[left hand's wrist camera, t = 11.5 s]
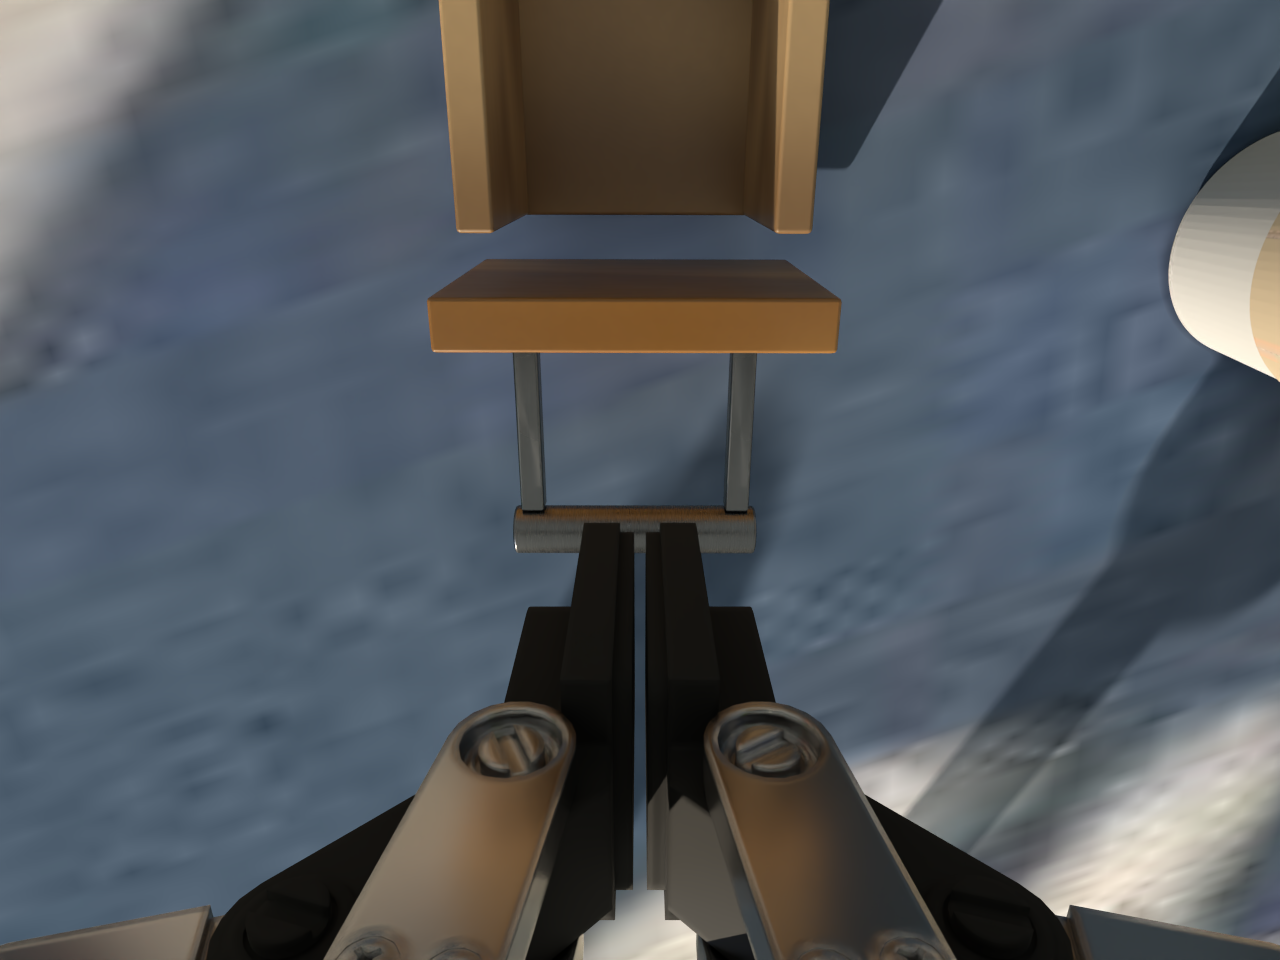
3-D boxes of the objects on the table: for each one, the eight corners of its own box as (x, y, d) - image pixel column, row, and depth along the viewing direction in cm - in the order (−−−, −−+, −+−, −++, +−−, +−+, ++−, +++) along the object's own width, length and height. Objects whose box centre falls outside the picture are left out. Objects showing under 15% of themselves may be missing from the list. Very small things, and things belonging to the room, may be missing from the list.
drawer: (772, 480, 27) (815, 588, 20) (499, 480, 27) (453, 587, 20) (843, -577, 18) (965, -1019, 11) (429, -578, 18) (302, -1020, 11)
